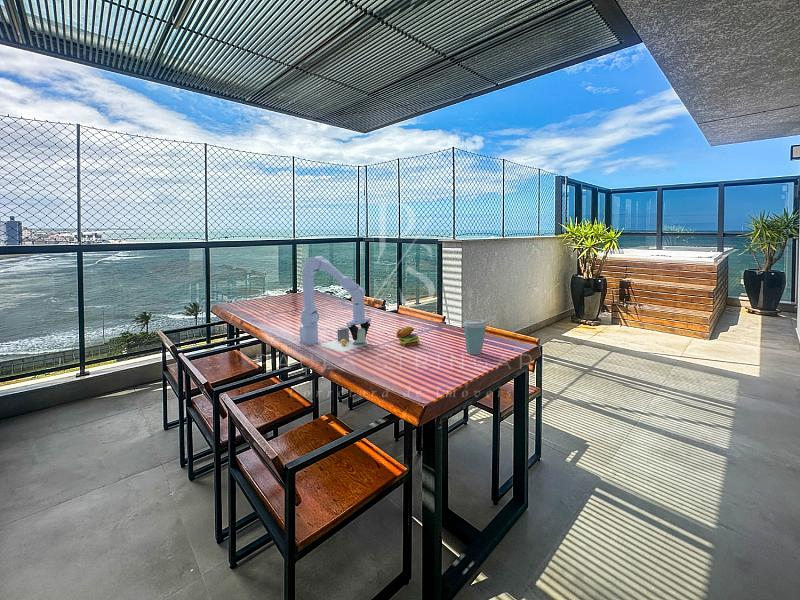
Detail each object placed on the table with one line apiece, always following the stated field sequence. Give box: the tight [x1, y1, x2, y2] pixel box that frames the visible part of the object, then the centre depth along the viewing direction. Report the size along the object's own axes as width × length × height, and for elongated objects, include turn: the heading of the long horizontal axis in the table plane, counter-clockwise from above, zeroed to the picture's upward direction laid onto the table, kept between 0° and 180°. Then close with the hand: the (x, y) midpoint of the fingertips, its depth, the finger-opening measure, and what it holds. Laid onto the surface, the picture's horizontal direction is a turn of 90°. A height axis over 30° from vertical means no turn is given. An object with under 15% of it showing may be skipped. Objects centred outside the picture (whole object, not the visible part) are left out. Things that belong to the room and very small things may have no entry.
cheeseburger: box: [396, 325, 421, 347], centre depth 186 cm, size 10×11×10 cm
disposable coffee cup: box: [462, 319, 487, 356], centre depth 170 cm, size 11×11×15 cm
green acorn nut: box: [354, 327, 367, 343], centre depth 186 cm, size 6×6×6 cm
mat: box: [317, 337, 371, 353], centre depth 186 cm, size 18×19×1 cm
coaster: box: [353, 340, 368, 346], centre depth 187 cm, size 7×7×1 cm
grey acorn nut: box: [336, 327, 350, 342], centre depth 193 cm, size 6×6×6 cm
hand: (359, 338), depth 187 cm, fingers closed on green acorn nut, 6 cm apart
